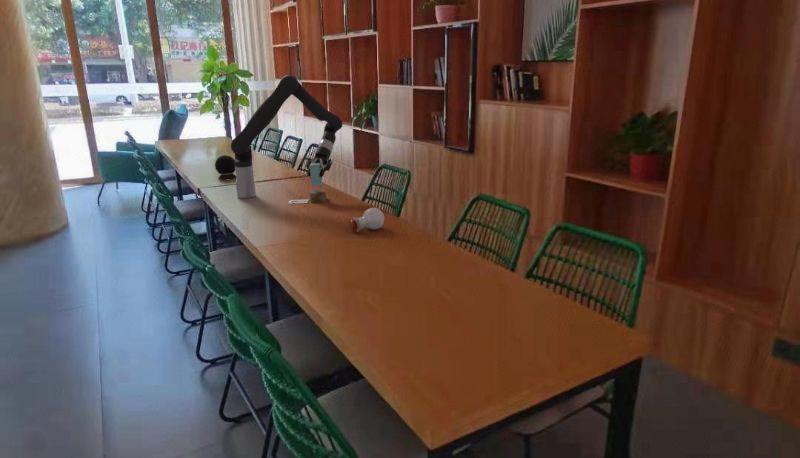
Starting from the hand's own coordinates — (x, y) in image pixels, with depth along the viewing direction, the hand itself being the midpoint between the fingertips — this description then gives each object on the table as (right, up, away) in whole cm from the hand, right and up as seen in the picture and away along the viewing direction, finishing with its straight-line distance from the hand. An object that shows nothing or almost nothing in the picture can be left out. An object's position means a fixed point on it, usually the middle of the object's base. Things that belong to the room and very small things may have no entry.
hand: (314, 176), depth 270 cm
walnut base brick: (+1, -12, +5) cm, 14 cm away
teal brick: (+1, -4, +3) cm, 5 cm away
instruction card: (-9, -13, +3) cm, 16 cm away
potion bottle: (+31, -28, -48) cm, 64 cm away
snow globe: (-68, +6, +70) cm, 98 cm away
